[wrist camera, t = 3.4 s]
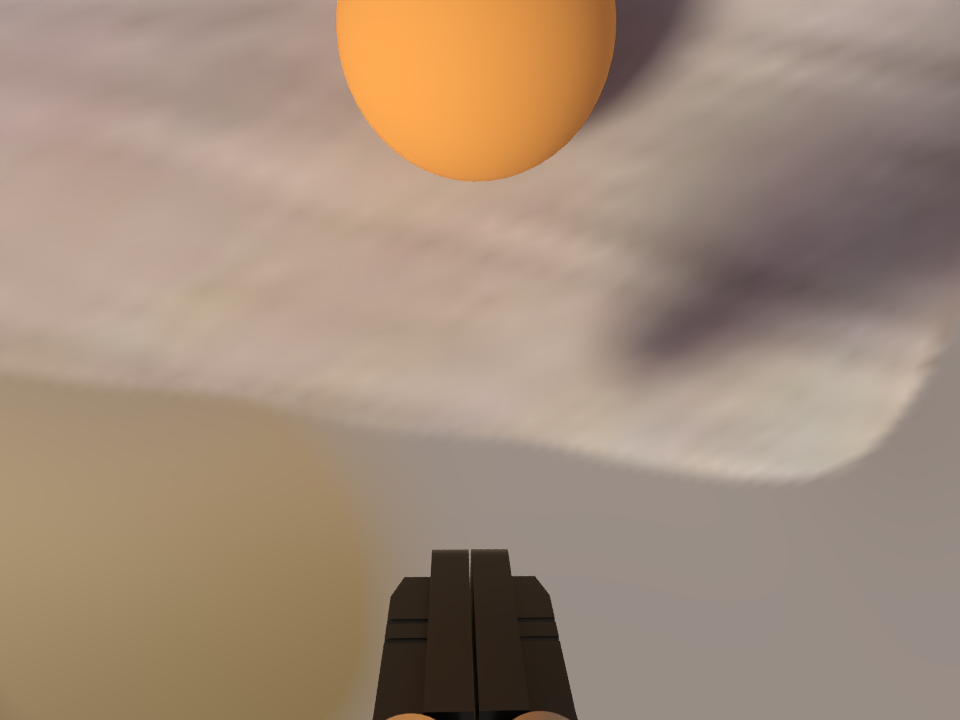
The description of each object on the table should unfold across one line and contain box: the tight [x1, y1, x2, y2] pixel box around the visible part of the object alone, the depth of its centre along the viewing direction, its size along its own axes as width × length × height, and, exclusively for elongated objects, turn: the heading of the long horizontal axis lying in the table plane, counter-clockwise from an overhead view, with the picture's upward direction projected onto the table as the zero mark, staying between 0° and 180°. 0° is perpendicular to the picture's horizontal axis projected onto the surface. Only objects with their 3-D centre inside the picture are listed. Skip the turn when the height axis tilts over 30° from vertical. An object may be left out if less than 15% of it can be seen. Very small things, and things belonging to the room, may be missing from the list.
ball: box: [336, 0, 616, 182], centre depth 12 cm, size 6×6×6 cm
